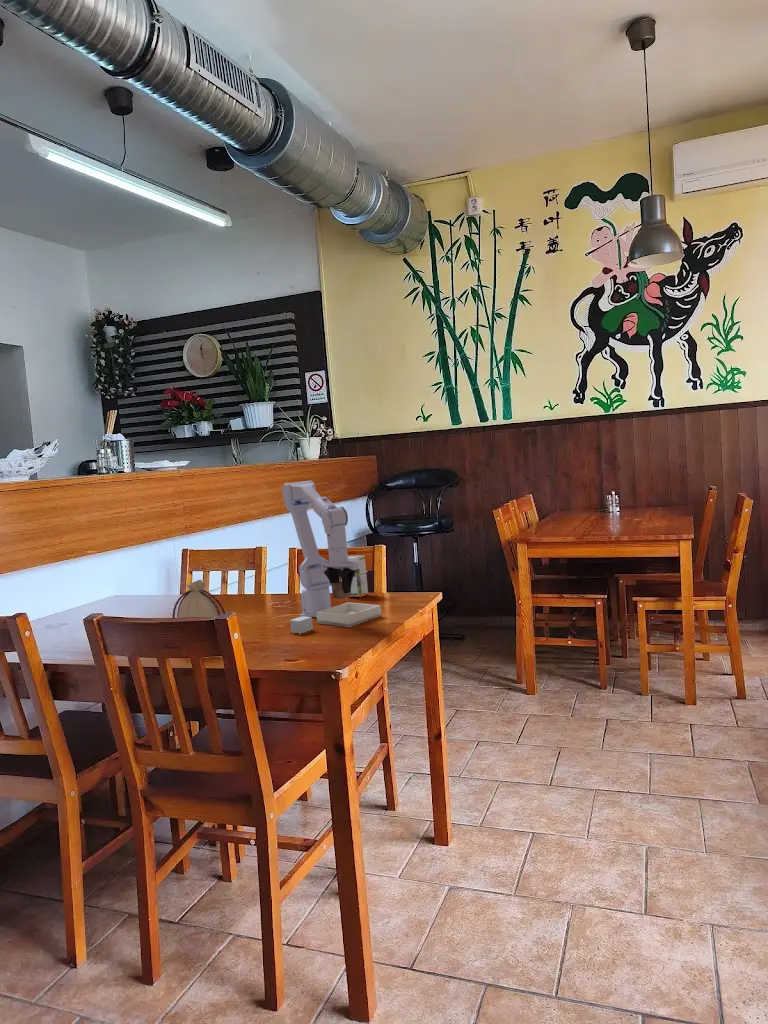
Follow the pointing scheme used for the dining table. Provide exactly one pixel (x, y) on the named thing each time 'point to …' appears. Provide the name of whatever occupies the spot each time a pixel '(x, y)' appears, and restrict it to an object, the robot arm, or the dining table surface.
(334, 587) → the walnut block
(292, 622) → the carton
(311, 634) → the dining table surface
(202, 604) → the pouch
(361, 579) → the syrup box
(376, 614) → the tote
